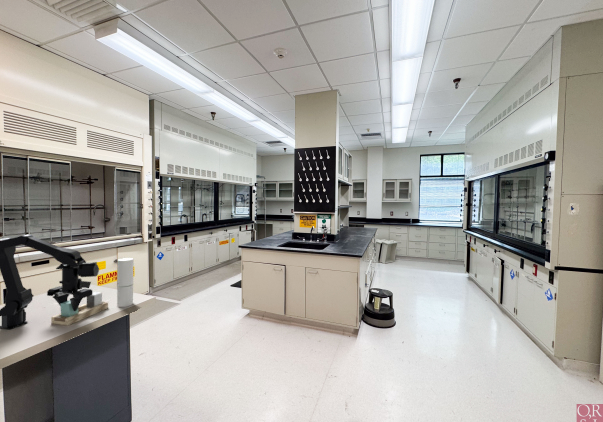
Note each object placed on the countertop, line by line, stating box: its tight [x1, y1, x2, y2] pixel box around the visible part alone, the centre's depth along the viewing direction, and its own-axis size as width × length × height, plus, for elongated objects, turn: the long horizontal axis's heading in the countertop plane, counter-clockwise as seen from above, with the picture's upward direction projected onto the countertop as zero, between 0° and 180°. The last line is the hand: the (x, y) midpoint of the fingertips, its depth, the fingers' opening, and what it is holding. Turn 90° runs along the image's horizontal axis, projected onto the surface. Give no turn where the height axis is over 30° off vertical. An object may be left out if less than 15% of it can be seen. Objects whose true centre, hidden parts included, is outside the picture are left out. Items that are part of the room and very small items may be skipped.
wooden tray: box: [50, 301, 109, 326], centre depth 125 cm, size 20×9×3 cm, turn 171°
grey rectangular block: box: [86, 291, 103, 308], centre depth 131 cm, size 4×5×7 cm
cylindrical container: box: [116, 257, 134, 308], centre depth 139 cm, size 7×7×25 cm
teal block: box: [59, 299, 79, 317], centre depth 119 cm, size 4×5×7 cm
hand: (70, 310), depth 119 cm, fingers open, 6 cm apart
